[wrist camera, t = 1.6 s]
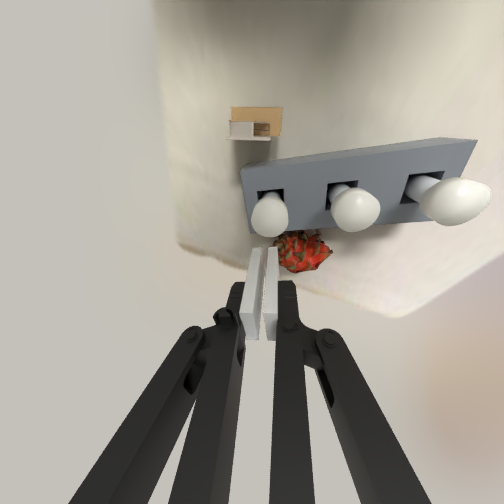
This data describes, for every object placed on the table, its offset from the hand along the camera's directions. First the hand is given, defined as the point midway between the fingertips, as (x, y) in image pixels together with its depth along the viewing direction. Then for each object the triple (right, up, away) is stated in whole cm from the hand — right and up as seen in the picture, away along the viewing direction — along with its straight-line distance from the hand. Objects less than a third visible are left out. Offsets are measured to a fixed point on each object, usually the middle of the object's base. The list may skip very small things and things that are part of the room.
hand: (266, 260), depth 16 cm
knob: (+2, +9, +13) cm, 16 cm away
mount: (+12, +12, +15) cm, 23 cm away
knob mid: (+12, +10, +11) cm, 19 cm away
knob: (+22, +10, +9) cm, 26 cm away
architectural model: (-1, +20, +12) cm, 23 cm away
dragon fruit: (+9, +3, +22) cm, 24 cm away
